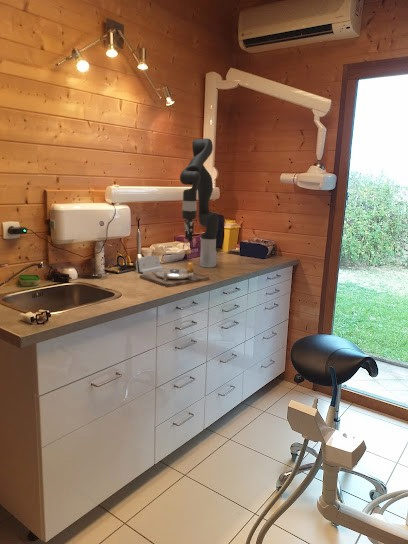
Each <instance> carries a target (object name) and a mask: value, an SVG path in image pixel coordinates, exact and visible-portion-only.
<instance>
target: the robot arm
mask: <svg viewBox="0 0 408 544" xmlns="http://www.w3.org/2000/svg"><path fill="white" fill-rule="evenodd" d="M213 145H214V144H213V141H212V139H211V138H196V139H193V141H192V145H191V146H192V154H193V156H192V158H191V160H190V161H189V164H187V166H186V167H185V168H184V169H183V170H182V171H181V172H180V175H179V181H180V183H181V184H183V185H184V186H186V185H188V186H192V187H191V188H188V189H183V192H182V208H181V209H182V210H181V213H182V214H181V218H182V219H183V220H184V233H185V235H184V237H185V239H186V240H187V241H188V242H192V241H193V234H194V233H195V232H194V231H195V230H194V227H195V225H194V224H195V222H194V221H193V220H195V219H197V198H198V222H199V224H200V225H201V226H202V227H203V228H206V229H205V231H204V232H202V233H201V235H200V259H199V262H200V263H199V266H200V267H202V268H215V267H216V266H217V255H218V252H217V235H218V232H219V224H220V222H219V221H220V218H219V214H217V213H216V212H212V211H210V199H211V197H212V195H213V191H214V190H213V189H214V185H213V178H212V175H211V174H210V173H209V171H208V170H207V169H206V167H205V163H206V161H207V160H208V159H209V157H210V156H211V154H212V153H213V148H214V147H213Z"/></svg>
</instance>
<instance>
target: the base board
mask: <svg viewBox="0 0 408 544" xmlns="http://www.w3.org/2000/svg"><path fill="white" fill-rule="evenodd" d="M193 275H194V279H189V278H186V279H167V272H164V278H161V277H158V276H156V272H153V273H148V274H139V279H142V280H144V281H146V282H147V281H148V282H150V283H154V284H156V285H159V286H163V287H164V286H165V288H171V287H177V286H181V285H182V286H183V285H188V284H195V283H201V282H205V281H206V282H207V281H209V280H210V276H206V275H202V274H199V273H196V272H193Z"/></svg>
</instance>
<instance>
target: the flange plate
mask: <svg viewBox="0 0 408 544" xmlns="http://www.w3.org/2000/svg"><path fill="white" fill-rule="evenodd" d="M186 268H187V269H186ZM186 268H178V267H166V268H164V267H163V269H159V270H157V271H156V272H155V273H156V276H158V277H161V278H164V272H167V279H186V278H189V279H194V275H193V273H194V262H192V261H188V262H187V265H186Z"/></svg>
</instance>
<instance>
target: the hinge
mask: <svg viewBox="0 0 408 544" xmlns="http://www.w3.org/2000/svg"><path fill="white" fill-rule="evenodd" d="M135 267H136V274H139V273H142V275H145V274H151V273H152V272H153V273H156V271H157V270H159V269H164V267H163V266H162V264H161V261H160V258H159V256H157V255H146V256H142V257H140V258H138V259H137V260H136V261H135Z"/></svg>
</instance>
